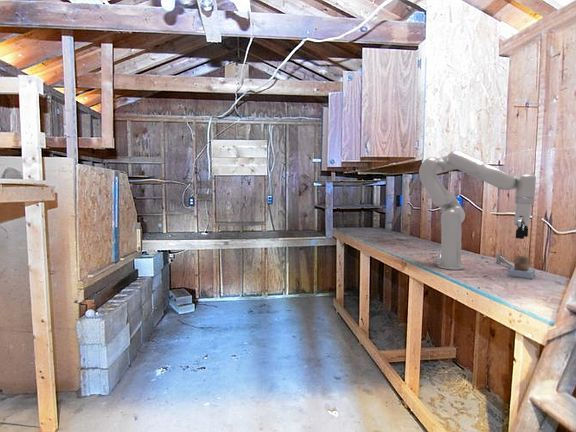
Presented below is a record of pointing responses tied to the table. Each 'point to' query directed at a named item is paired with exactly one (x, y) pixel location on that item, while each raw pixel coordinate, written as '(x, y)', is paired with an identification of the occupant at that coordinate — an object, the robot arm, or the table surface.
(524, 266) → the walnut block
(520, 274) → the base block
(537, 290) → the table surface
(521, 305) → the table surface
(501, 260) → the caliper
